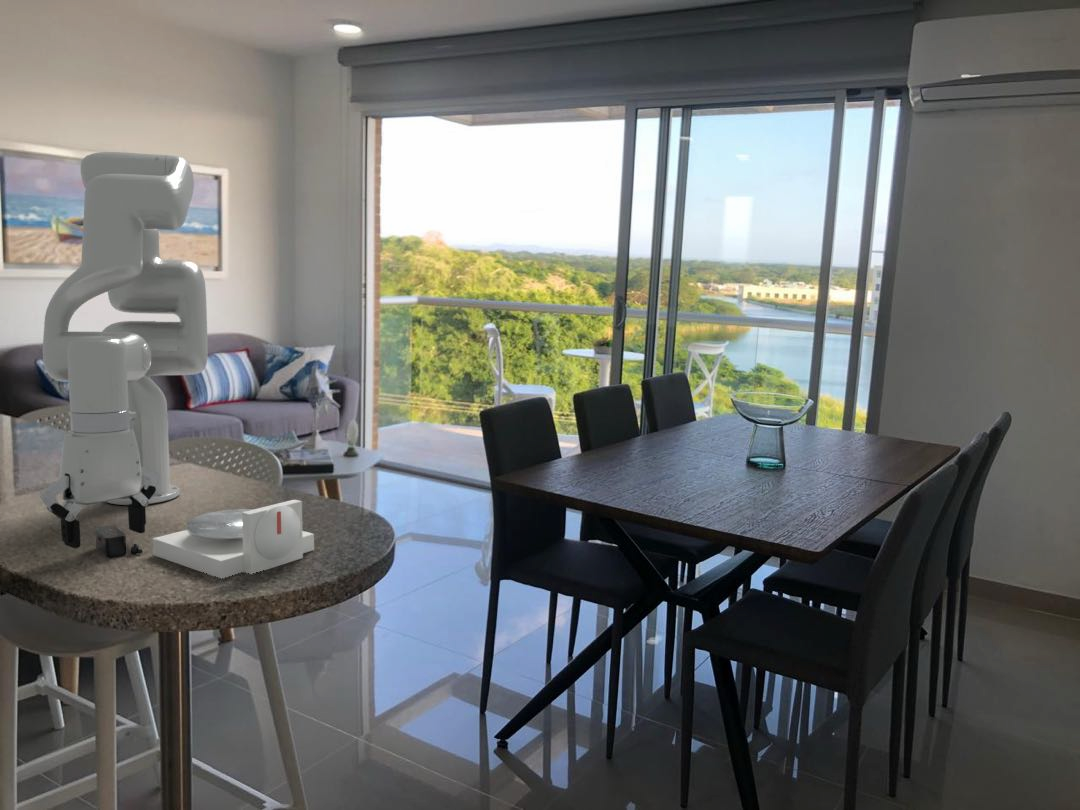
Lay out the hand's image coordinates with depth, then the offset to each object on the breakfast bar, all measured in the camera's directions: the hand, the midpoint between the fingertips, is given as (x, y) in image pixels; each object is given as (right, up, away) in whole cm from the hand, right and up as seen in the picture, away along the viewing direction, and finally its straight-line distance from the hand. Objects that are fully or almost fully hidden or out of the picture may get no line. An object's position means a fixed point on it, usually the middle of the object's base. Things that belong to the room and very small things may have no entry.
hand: (105, 538), depth 128 cm
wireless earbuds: (+2, -2, 0) cm, 3 cm away
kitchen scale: (+19, -2, +1) cm, 20 cm away
